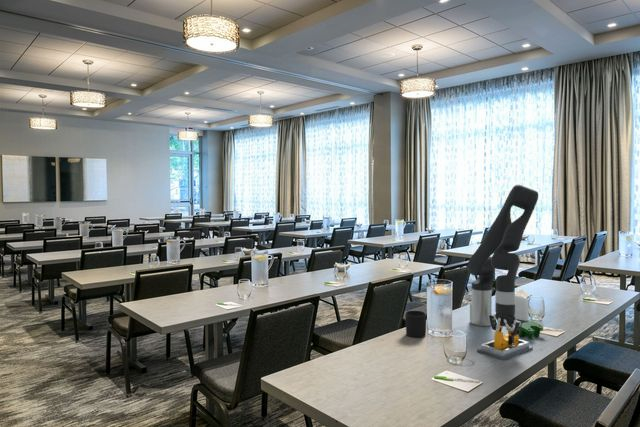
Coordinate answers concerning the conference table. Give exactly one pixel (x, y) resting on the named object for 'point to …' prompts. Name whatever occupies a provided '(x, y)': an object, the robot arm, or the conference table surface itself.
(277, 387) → the conference table surface
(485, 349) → the grey metal tray
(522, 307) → the white napkin holder
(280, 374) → the conference table surface
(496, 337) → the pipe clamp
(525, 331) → the clamp
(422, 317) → the pen holder
